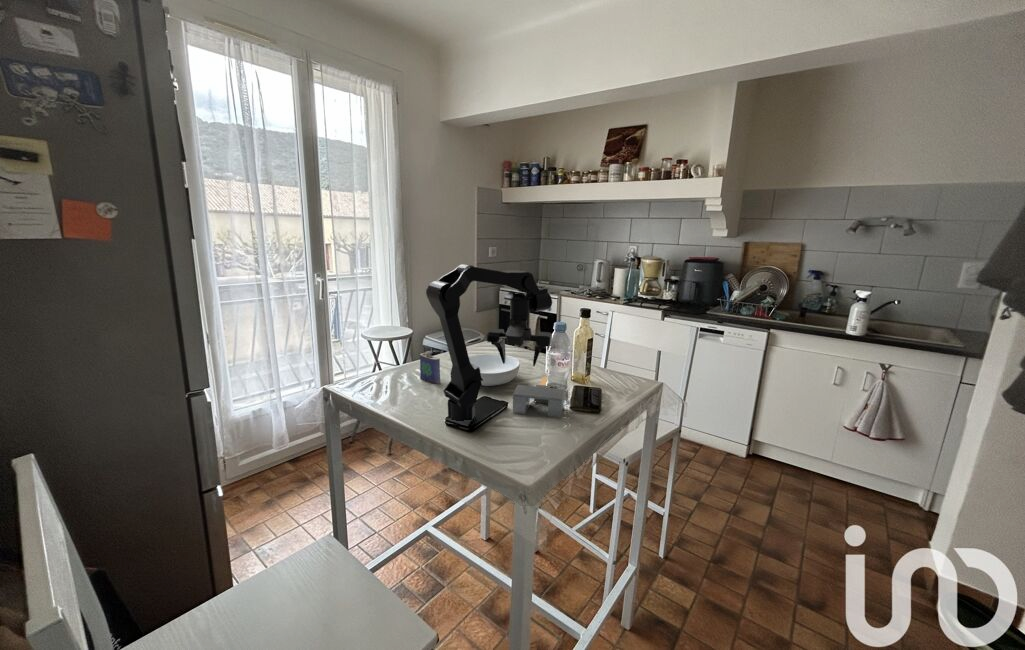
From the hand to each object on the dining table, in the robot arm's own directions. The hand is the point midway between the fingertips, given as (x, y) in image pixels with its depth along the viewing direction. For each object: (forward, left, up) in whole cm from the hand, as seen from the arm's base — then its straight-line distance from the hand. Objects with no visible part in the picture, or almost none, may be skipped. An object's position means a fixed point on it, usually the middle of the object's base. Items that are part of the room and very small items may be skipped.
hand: (518, 364), depth 122 cm
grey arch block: (+7, -4, -12) cm, 15 cm away
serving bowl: (-13, +14, -12) cm, 23 cm away
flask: (-33, +9, -12) cm, 36 cm away
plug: (+7, +8, -12) cm, 16 cm away
